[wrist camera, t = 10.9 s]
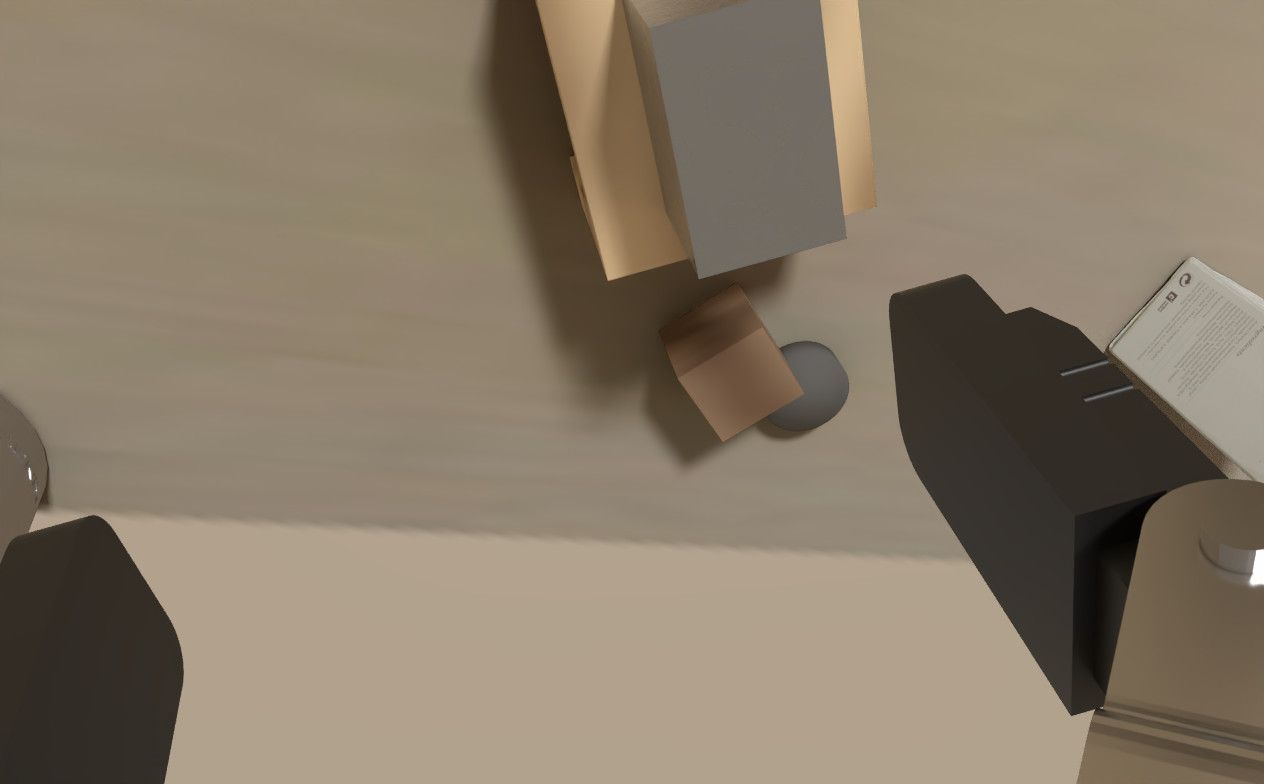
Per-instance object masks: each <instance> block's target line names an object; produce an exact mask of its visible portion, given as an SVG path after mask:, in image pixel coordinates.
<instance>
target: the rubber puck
mask: <svg viewBox="0 0 1264 784" xmlns="http://www.w3.org/2000/svg"><path fill="white" fill-rule="evenodd" d="M780 351H781V353H782V354H783V356H784V358H785V360H786V362H787V363H788V365H789V367H790V369H791V370H792V372H793V374H794V376H795V378H796V379H797V381H798V383H799V385H800V387H801V388H802V390H803V392H804V394H803V395H802V396H800V397H798V398H796V399H795V400H793V401H791V402H790V403H788V404H786V405H785V406H783V407H781V408H780V409H778V410H776V411H775V412H773V413H771V414H769V415H768V418H769V419H770V420H771V422H773V423H774V424H775V425H777V426H778V427H780V428H783V429H786V430H791V431H805V430H810V429H813V428H816V427H818V426H821V425H823V424H824V423H826V422H828V421H829V420H831V419H832V418H833V417H834V416H835V415H836V414H837V413H838V412H839V411H840V410H841V408H842V407H843V405H844V403H845V401H846V399H847V396H848V392H849V380H848V377H847V374H846V372H845V370H844V369H843V367H842V366H841V364H840V362H839V361H838V359H837V358H836V356H835V355H834V353H833V352H832V351H831V350H830V349H829V348H827V347H826V346H824V345H822V344H819V343H816V342H811V341H801V342H795V343H791V344H788V345H786V346H783V347H781V348H780Z"/></svg>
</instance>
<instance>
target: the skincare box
mask: <svg viewBox="0 0 1264 784" xmlns="http://www.w3.org/2000/svg"><path fill="white" fill-rule="evenodd" d="M1109 350H1110V352H1111V353H1112V354H1113V355H1114V356H1115V357H1116V358H1117V359H1119V360H1120V361H1121V362H1122V363H1123V364H1124V365H1125V366H1126V367H1127V368H1128V369H1130V370H1131V371H1132V372H1133V373H1134V374H1135V375H1136V376H1137V377H1139V378H1140V379H1141V380H1142V381H1143V382H1144V383H1145V384H1146V385H1148V386H1149V387H1150V388H1151V389H1152V390H1153V391H1154V392H1155V393H1157V394H1158V395H1159V396H1160V397H1161V398H1162V399H1163V400H1164V401H1166V402H1167V403H1168V404H1169V405H1170V406H1171V407H1172V408H1173V409H1174V410H1175V411H1176V412H1177V413H1179V414H1180V415H1181V416H1182V417H1183V418H1184V419H1185V420H1186V421H1187V422H1188V423H1189V424H1191V425H1192V426H1193V427H1194V428H1195V429H1196V430H1197V431H1198V432H1199V433H1201V434H1202V435H1203V436H1204V437H1205V438H1206V439H1207V440H1208V441H1210V442H1211V443H1212V444H1213V445H1214V446H1215V447H1216V448H1217V449H1218V450H1220V451H1221V452H1222V453H1223V454H1224V455H1225V456H1226V457H1227V458H1229V459H1230V460H1231V461H1232V462H1233V463H1234V464H1235V465H1236V466H1237V467H1239V468H1240V469H1241V470H1242V471H1243V472H1244V473H1245V474H1246V475H1247V476H1249V477H1250V478H1251V479H1252V480H1253V481H1256V482H1262V483H1264V299H1262V298H1261V297H1259V296H1257V295H1256V294H1254V293H1252V292H1250V291H1249V290H1247V289H1245V288H1244V287H1242V286H1240V285H1239V284H1237V283H1235V282H1234V281H1232V280H1230V279H1228V278H1227V277H1225V276H1223V275H1221V274H1219V273H1217V272H1215V271H1213V270H1211V269H1210V268H1209V267H1207V266H1206V265H1204V264H1203V263H1202V262H1200V261H1199V260H1197V259H1196V258H1194V257H1190V258H1189V259H1187V260H1186V261H1185V262H1184V263H1183V264H1182V265H1181V266H1180V267H1179V269H1178V270H1177V271H1176V272H1175V273H1174V275H1173V276H1172V277H1171V279H1170V280H1169V281H1168V282H1167V283H1166V284H1165V286H1164V287H1163V288H1162V289H1161V290H1160V291H1159V292H1158V293H1157V294H1156V295H1155V296H1154V297H1153V298H1152V300H1151V301H1150V302H1149V303H1148V304H1147V305H1146V306H1145V307H1144V308H1143V309H1142V310H1141V311H1140V312H1139V313H1138V314H1137V315H1136V316H1135V317H1134V318H1133V319H1132V320H1131V322H1130V323H1129V324H1128V325H1127V326H1126V327H1125V328H1124V329H1123V330H1122V332H1121V333H1120V334H1119V335H1118V336H1117V337H1116V338H1115V339H1114V340H1113V342H1112V343H1111V344H1110V346H1109Z"/></svg>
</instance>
